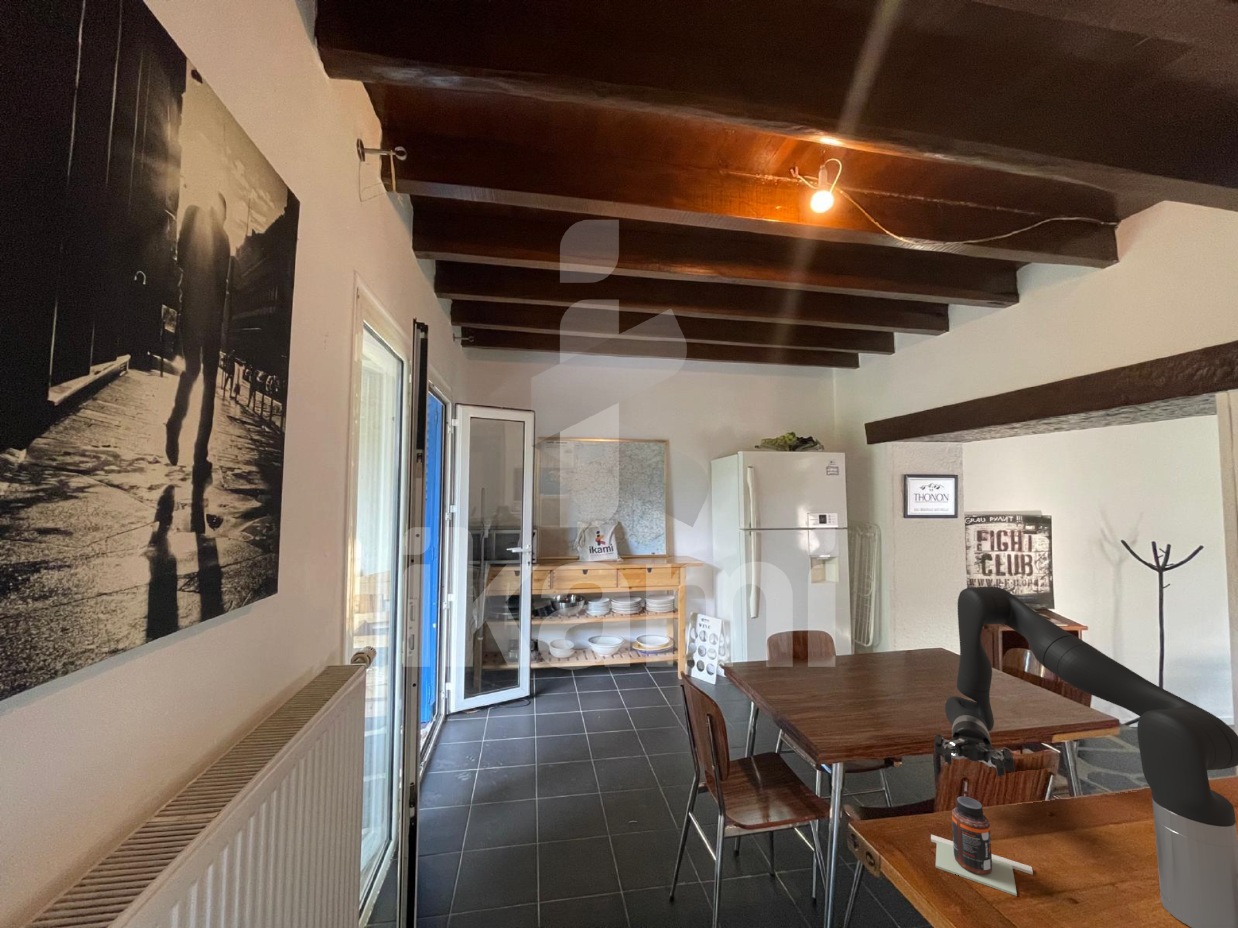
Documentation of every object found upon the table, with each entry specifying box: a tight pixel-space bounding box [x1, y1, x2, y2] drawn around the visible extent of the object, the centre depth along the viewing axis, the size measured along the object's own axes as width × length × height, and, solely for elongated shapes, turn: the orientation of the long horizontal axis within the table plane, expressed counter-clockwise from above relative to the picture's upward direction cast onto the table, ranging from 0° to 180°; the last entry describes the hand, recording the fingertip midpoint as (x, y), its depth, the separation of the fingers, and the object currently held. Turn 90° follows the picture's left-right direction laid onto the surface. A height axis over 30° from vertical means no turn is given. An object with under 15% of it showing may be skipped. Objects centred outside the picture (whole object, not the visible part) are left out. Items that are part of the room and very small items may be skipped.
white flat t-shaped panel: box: [930, 834, 1034, 897], centre depth 92 cm, size 16×10×1 cm, turn 56°
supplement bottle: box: [951, 796, 993, 874], centre depth 93 cm, size 6×6×11 cm
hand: (973, 765), depth 103 cm, fingers open, 8 cm apart
